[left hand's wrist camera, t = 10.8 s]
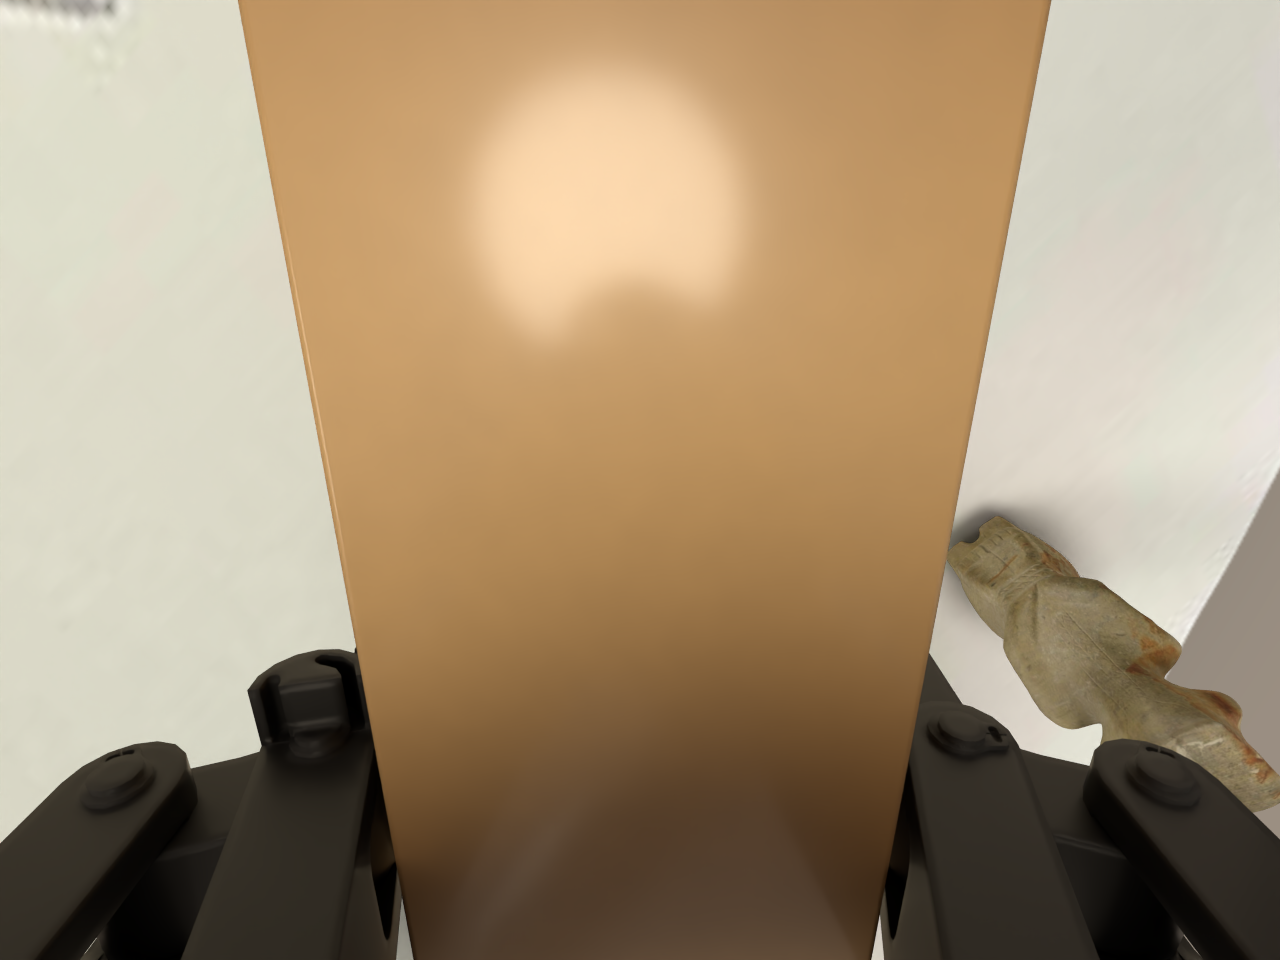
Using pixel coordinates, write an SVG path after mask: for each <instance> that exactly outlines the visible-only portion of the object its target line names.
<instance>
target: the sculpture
mask: <svg viewBox="0 0 1280 960" xmlns="http://www.w3.org/2000/svg"><path fill="white" fill-rule="evenodd" d="M979 533H980V535H979V538H978V540H976V541H975V542H974V543H965V542H963V541H961V542H959V543H958V544H956V545H955V546H953V547H952V548H951V549H950V550H949V551H948V553H947V561H948V562H949V564H950V565H951V567H952V568H953V569H954V571H955V572H956V574H957V575H958V577H959V579H960V580H961V583H962V587H963V589H964V591H965V593H966V595H967V597H968V599H969V601H970V602H971V604H972V606H973V607H974V609H975V610H976V612H977V613H978V615H979V616H980V617H981V618H982V620H983V621H984V622H985V623H986V624H987V625H988V626H989V627H990V629H991V630H992V631H994V632H995V633H996V634H997V635H998V636H1000V637H1001V638H1002V639H1004V641H1003V648H1004V651H1005V654H1006V656H1007V658H1008V660H1009V661H1010V663H1011V665H1012V667H1013V668H1014V670H1015V671H1016V673H1017V674H1018V676H1019V678H1020V679H1021V681H1022V682H1023V684H1024V685H1025V687H1026V688H1027V690H1028V692H1029V694H1030V695H1031V697H1032V699H1033V700H1034V702H1035V703H1036V705H1037V706H1038V708H1039V709H1040V710H1041V712H1042V713H1043V714H1044V715H1045V716H1046V717H1048V718H1049V719H1050V720H1051V721H1053V722H1054V723H1056V724H1057V725H1059V726H1061V727H1063V728H1067V729H1079V728H1082V727H1086V726H1089V725H1092V724H1098V723H1100V724H1102V730H1103V735H1102V739H1101V744H1102V743H1103V742H1105V741H1110V740H1116V739H1122V738H1123V739H1131V740H1140V741H1147V742H1150V743H1153V744H1156V745H1159V746H1162V747H1165V748H1168V749H1171V750H1173V751H1175V752H1177V753H1179V754H1181V755H1183V756H1185V757H1187V758H1189V759H1190V760H1192V761H1194V762H1196V763H1198V764H1199V765H1200V766H1202V767H1203V768H1204V769H1206V770H1207V771H1208V772H1209V773H1211V774H1212V775H1213V776H1214V777H1216V778H1217V779H1218V780H1219V781H1220V782H1222V783H1223V784H1224V785H1225V786H1226V787H1227V788H1228V789H1229V790H1230V791H1231V792H1232V793H1233V794H1234V795H1235V796H1236V797H1237V798H1238V799H1239V800H1240V801H1241V802H1242V803H1243V804H1244V805H1245V806H1246V807H1247V808H1248V809H1249V810H1250V811H1251V812H1252V813H1253V812H1257V811H1261V810H1265V809H1268V808H1270V807H1273V806H1275V805H1277V804H1279V803H1280V776H1279V775H1278V774H1277V773H1276V772H1275V771H1274V770H1273V769H1272V768H1271V767H1270V766H1269V764H1268V763H1267V762H1266V761H1265V760H1264V759H1263V758H1262V757H1261V756H1260V754H1259V753H1258V752H1257V751H1256V750H1254V749H1253V748H1252V747H1251V746H1250V745H1249V744H1248V743H1247V742H1246V740H1245V739H1244V737H1243V736H1242V733H1241V730H1240V724H1241V720H1242V710H1241V708H1240V706H1239V705H1238V703H1237V702H1236V701H1235V700H1234V699H1232V698H1231V697H1229V696H1228V695H1225V694H1223V693H1220V692H1217V691H1209V690H1196V689H1188V688H1184V687H1180V686H1178V685H1175V684H1172V683H1170V682H1169V681H1167V680H1165V679H1164V677H1165V675H1166V674H1167V673H1168V671H1169V670H1170V669H1171V668H1172V667H1173V666H1174V665H1175V663H1176V662H1177V660H1178V658H1179V657H1180V655H1181V652H1182V647H1181V645H1180V643H1179V642H1178V641H1177V640H1176V639H1175V638H1174V637H1173V636H1171V635H1170V634H1169V633H1167V632H1166V631H1164V630H1163V629H1162V628H1160V627H1159V626H1157V625H1156V624H1155V623H1154V622H1153V621H1152V620H1151V619H1149V618H1148V617H1146V616H1145V615H1143V614H1142V613H1140V612H1139V611H1138V610H1136V609H1135V608H1133V607H1132V606H1131V605H1129V604H1128V603H1127V602H1126V601H1124V600H1123V599H1122V598H1121V597H1120V596H1118V595H1117V594H1116V593H1114V592H1113V591H1111V590H1110V589H1109V588H1107V587H1106V586H1105V585H1104V584H1103V583H1102V582H1100V581H1098V580H1094V579H1088V578H1080V576H1079V575H1078V573H1077V571H1076V570H1075V568H1074V567H1073V566H1072V564H1071V563H1070V562H1069V561H1068V560H1067V559H1066V558H1065V557H1064V556H1062V555H1061V554H1060V553H1059V552H1058V551H1056V550H1055V549H1053V548H1052V547H1051V546H1049V545H1048V544H1047V543H1045V542H1043V541H1042V540H1040V539H1039V538H1037V537H1035V536H1034V535H1032V534H1030V533H1027V532H1025V531H1022V530H1021V529H1019V528H1018V527H1016V526H1015V525H1013V524H1012V523H1010V522H1009V521H1007V520H1005V519H1004V518H1002V517H1000V516H996V517H994V518H992V519H991V520H989V521H988V522H986V523H985V524H983V525H982V526H981V527H980V528H979ZM1101 744H1100V745H1101Z"/></svg>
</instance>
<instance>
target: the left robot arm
mask: <svg viewBox="0 0 1280 960" xmlns="http://www.w3.org/2000/svg"><path fill="white" fill-rule="evenodd" d="M247 691H248V695H249V699H250V703H251V706H252V710H253V714H254V718H255V722H256V726H257V730H258V733H259V737H260V741H261V745H262V747H261V749H260V752H257V753H254V754H250V755H247V756H244V757H240V758H236V759H231V760H227V761H223V762H218V763H214V764H209V765H205V766H201V767H196V768H192V769H191V768H190V765H189V762H188V759H187V755H186V753H185V752H184V751H183V750H182V749H180V748H179V747H178V746H177V745H176V744H170V743H165V742H159V741H156V742H148V743H140V744H134V745H131V746H128V747H124V748H121V749H118V750H115V751H112V752H109V753H107V754H105V755H103V756H101V757H100V758H98V759H96V760H94V761H92V762H90V763H88V764H86V765H84V766H83V767H81V768H80V769H79V770H78V771H76V772H75V773H74V774H72V775H71V776H70V777H69V778H67V779H66V780H65V781H64V782H62V783H61V784H60V785H59V786H58V787H57V788H56V789H55V790H54V791H53V792H52V793H51V794H50V795H49V796H48V797H47V798H46V799H45V800H44V801H43V802H42V803H41V804H40V805H39V806H38V807H37V808H36V809H35V810H34V811H33V812H32V813H31V814H30V815H29V816H28V817H27V818H26V819H25V820H24V821H23V822H22V823H21V824H20V825H19V826H18V827H17V828H15V829H14V830H13V831H12V832H11V833H10V834H9V835H8V836H7V837H6V838H5V839H4V840H3V841H2V842H1V843H0V960H396V953H397V942H398V931H399V920H400V910H401V899H402V893H401V888H400V882H399V877H398V871H397V866H396V860H395V855H394V850H393V844H392V839H391V833H390V828H389V822H388V817H387V811H386V806H385V800H384V795H383V790H382V784H381V779H380V773H379V768H378V762H377V757H376V751H375V746H374V740H373V735H372V729H371V724H370V719H369V713H368V708H367V702H366V697H365V691H364V686H363V680H362V675H361V669H360V664H359V659H358V653H357V648H355V653H352V652H348V651H344V650H340V649H329V650H315V651H311V652H307V653H302V654H298V655H295V656H293V657H290V658H288V659H286V660H284V661H281V662H279V663H277V664H275V665H273V666H272V667H271V668H269V669H268V670H266V671H265V672H264V673H262V674H261V675H259V676H258V677H257V678H256V680H255V681H254V682H253V684H252V685H251V686H250V688H249V689H248V690H247ZM880 919H881V930H882V941H883V951H884V960H1280V839H1279V838H1278V837H1277V836H1276V835H1275V834H1274V833H1273V832H1272V831H1271V830H1270V829H1268V828H1267V827H1266V826H1265V825H1264V824H1263V823H1262V822H1261V821H1260V820H1259V819H1258V818H1257V817H1256V816H1255V815H1254V814H1253V813H1252V812H1251V811H1250V810H1249V809H1248V808H1247V807H1246V806H1245V805H1244V804H1243V803H1242V802H1241V801H1240V800H1239V799H1238V798H1237V797H1236V796H1235V795H1234V794H1233V793H1232V792H1231V791H1230V790H1229V789H1228V788H1227V787H1226V786H1225V785H1224V784H1223V783H1222V782H1220V781H1219V780H1218V779H1217V778H1216V777H1214V776H1213V775H1212V774H1211V773H1209V772H1208V771H1207V770H1206V769H1204V768H1203V767H1202V766H1200V765H1199V764H1198V763H1196V762H1194V761H1192V760H1190V759H1189V758H1187V757H1185V756H1183V755H1181V754H1179V753H1177V752H1175V751H1173V750H1171V749H1168V748H1165V747H1162V746H1159V745H1156V744H1153V743H1150V742H1147V741H1140V740H1131V739H1123V738H1122V739H1116V740H1110V741H1105V742H1103V743H1102V744H1101V745H1100V746H1099V747H1098V748H1096V749H1095V750H1094V753H1093V757H1092V760H1091V763H1090V766H1087V765H1083V764H1078V763H1074V762H1070V761H1065V760H1061V759H1056V758H1052V757H1047V756H1043V755H1039V754H1036V753H1032V752H1029V751H1025V750H1022V749H1020V748H1019V745H1018V744H1017V742H1016V741H1015V739H1014V738H1013V736H1012V735H1011V733H1010V732H1009V730H1008V729H1007V728H1005V727H1004V726H1003V725H1002V724H1000V723H999V722H998V721H997V720H995V719H994V718H993V717H991V716H989V715H987V714H985V713H983V712H981V711H979V710H977V709H975V708H973V707H970V706H967V705H963V704H962V703H961V701H960V700H959V698H958V697H957V695H956V694H955V692H954V691H953V689H952V687H951V686H950V684H949V683H948V681H947V680H946V678H945V677H944V675H943V674H942V672H941V671H940V669H939V668H938V666H937V664H936V663H935V661H934V660H933V658H932V657H931V655H930V654H928V660H927V665H926V670H925V676H924V681H923V686H922V692H921V697H920V702H919V708H918V713H917V718H916V724H915V729H914V734H913V740H912V745H911V750H910V756H909V761H908V766H907V772H906V777H905V782H904V788H903V793H902V798H901V804H900V809H899V814H898V820H897V825H896V830H895V836H894V841H893V846H892V851H891V857H890V862H889V867H888V873H887V878H886V883H885V889H884V894H883V899H882V905H881V910H880ZM1184 935H1185V936H1186V937H1187V939H1188V940H1189V941H1190V943H1191V944H1192V945H1193V947H1194V948H1195V949H1196V951H1197V952H1198V953H1199V954H1198V953H1197V952H1196V951H1195V950H1194V949H1193V947H1192V946H1191V945H1190V943H1189V942H1188V941H1187V939H1186V938H1185V937H1184ZM96 938H97V939H96ZM95 939H96V940H95ZM94 940H95V941H94ZM93 942H94V943H93ZM92 943H93V944H92ZM91 944H92V945H91ZM90 945H91V947H90ZM89 947H90V948H89ZM88 948H89V949H88ZM87 949H88V951H87ZM86 951H87V952H86ZM85 952H86V953H85ZM84 953H85V954H84Z"/></svg>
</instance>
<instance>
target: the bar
mask: <svg viewBox="0 0 1280 960" xmlns="http://www.w3.org/2000/svg"><path fill="white" fill-rule="evenodd" d="M238 4H239V9H240V14H241V20H242V25H243V31H244V36H245V42H246V47H247V53H248V58H249V64H250V69H251V74H252V80H253V85H254V91H255V96H256V102H257V107H258V113H259V118H260V124H261V129H262V135H263V140H264V145H265V151H266V156H267V162H268V167H269V173H270V178H271V184H272V189H273V195H274V200H275V205H276V211H277V216H278V222H279V227H280V233H281V238H282V244H283V249H284V255H285V260H286V266H287V271H288V276H289V282H290V287H291V293H292V298H293V304H294V309H295V315H296V320H297V326H298V331H299V336H300V342H301V347H302V353H303V358H304V364H305V369H306V375H307V380H308V386H309V391H310V397H311V402H312V407H313V413H314V418H315V424H316V429H317V435H318V440H319V446H320V451H321V457H322V462H323V467H324V473H325V478H326V484H327V489H328V495H329V500H330V506H331V511H332V517H333V522H334V528H335V533H336V538H337V544H338V549H339V555H340V560H341V566H342V571H343V577H344V582H345V588H346V593H347V598H348V604H349V609H350V615H351V620H352V626H353V631H354V637H355V642H356V648H357V653H358V659H359V664H360V669H361V675H362V680H363V686H364V691H365V697H366V702H367V708H368V713H369V719H370V724H371V729H372V735H373V740H374V746H375V751H376V757H377V762H378V768H379V773H380V779H381V784H382V790H383V795H384V800H385V806H386V811H387V817H388V822H389V828H390V833H391V839H392V844H393V850H394V855H395V860H396V866H397V871H398V877H399V882H400V888H401V893H402V899H403V904H404V910H405V915H406V921H407V926H408V931H409V937H410V942H411V948H412V953H413V959H414V960H871V958H872V953H873V947H874V942H875V937H876V931H877V926H878V921H879V915H880V910H881V905H882V899H883V894H884V889H885V883H886V878H887V873H888V867H889V862H890V857H891V851H892V846H893V841H894V836H895V830H896V825H897V820H898V814H899V809H900V804H901V798H902V793H903V788H904V782H905V777H906V772H907V766H908V761H909V756H910V750H911V745H912V740H913V734H914V729H915V724H916V718H917V713H918V708H919V702H920V697H921V692H922V686H923V681H924V676H925V670H926V665H927V660H928V654H929V649H930V644H931V638H932V633H933V628H934V622H935V617H936V612H937V606H938V601H939V596H940V590H941V585H942V580H943V574H944V569H945V564H946V559H947V553H948V548H949V543H950V537H951V532H952V527H953V521H954V516H955V511H956V505H957V500H958V495H959V489H960V484H961V479H962V473H963V468H964V463H965V457H966V452H967V447H968V441H969V436H970V431H971V425H972V420H973V415H974V409H975V404H976V399H977V393H978V388H979V383H980V377H981V372H982V367H983V361H984V356H985V351H986V345H987V340H988V335H989V329H990V324H991V319H992V313H993V308H994V303H995V298H996V292H997V287H998V282H999V276H1000V271H1001V266H1002V260H1003V255H1004V250H1005V244H1006V239H1007V234H1008V228H1009V223H1010V218H1011V212H1012V207H1013V202H1014V196H1015V191H1016V186H1017V180H1018V175H1019V170H1020V164H1021V159H1022V154H1023V148H1024V143H1025V138H1026V132H1027V127H1028V122H1029V116H1030V111H1031V106H1032V100H1033V95H1034V90H1035V84H1036V79H1037V74H1038V68H1039V63H1040V58H1041V52H1042V47H1043V42H1044V36H1045V31H1046V26H1047V21H1048V15H1049V10H1050V5H1051V0H238Z"/></svg>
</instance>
